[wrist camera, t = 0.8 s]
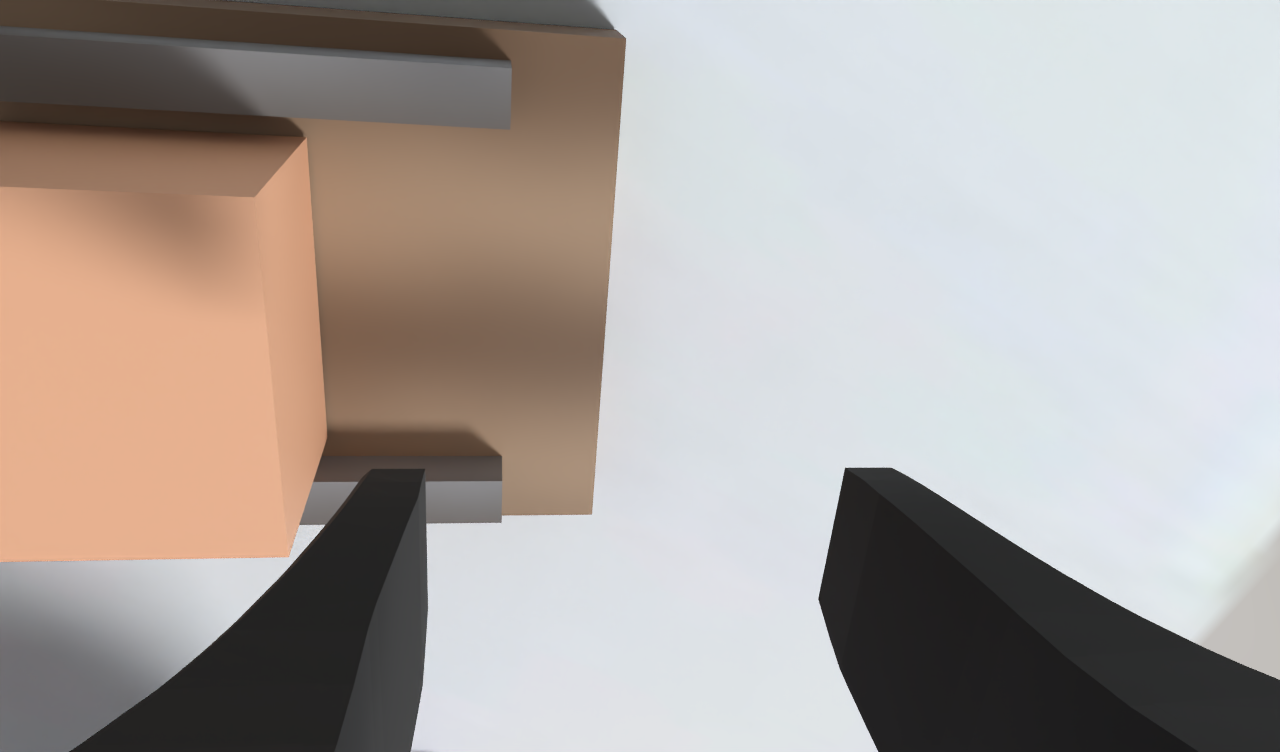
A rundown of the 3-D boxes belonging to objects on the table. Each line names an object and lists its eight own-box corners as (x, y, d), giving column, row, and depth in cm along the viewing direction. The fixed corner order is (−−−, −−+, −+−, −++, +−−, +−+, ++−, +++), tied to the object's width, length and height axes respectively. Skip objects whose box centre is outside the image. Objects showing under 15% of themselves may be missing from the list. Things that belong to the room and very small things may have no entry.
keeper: (327, 437, 19) (288, 557, 15) (57, 436, 18) (-49, 562, 14) (306, 137, 16) (254, 197, 13) (-8, 120, 15) (-157, 179, 12)
